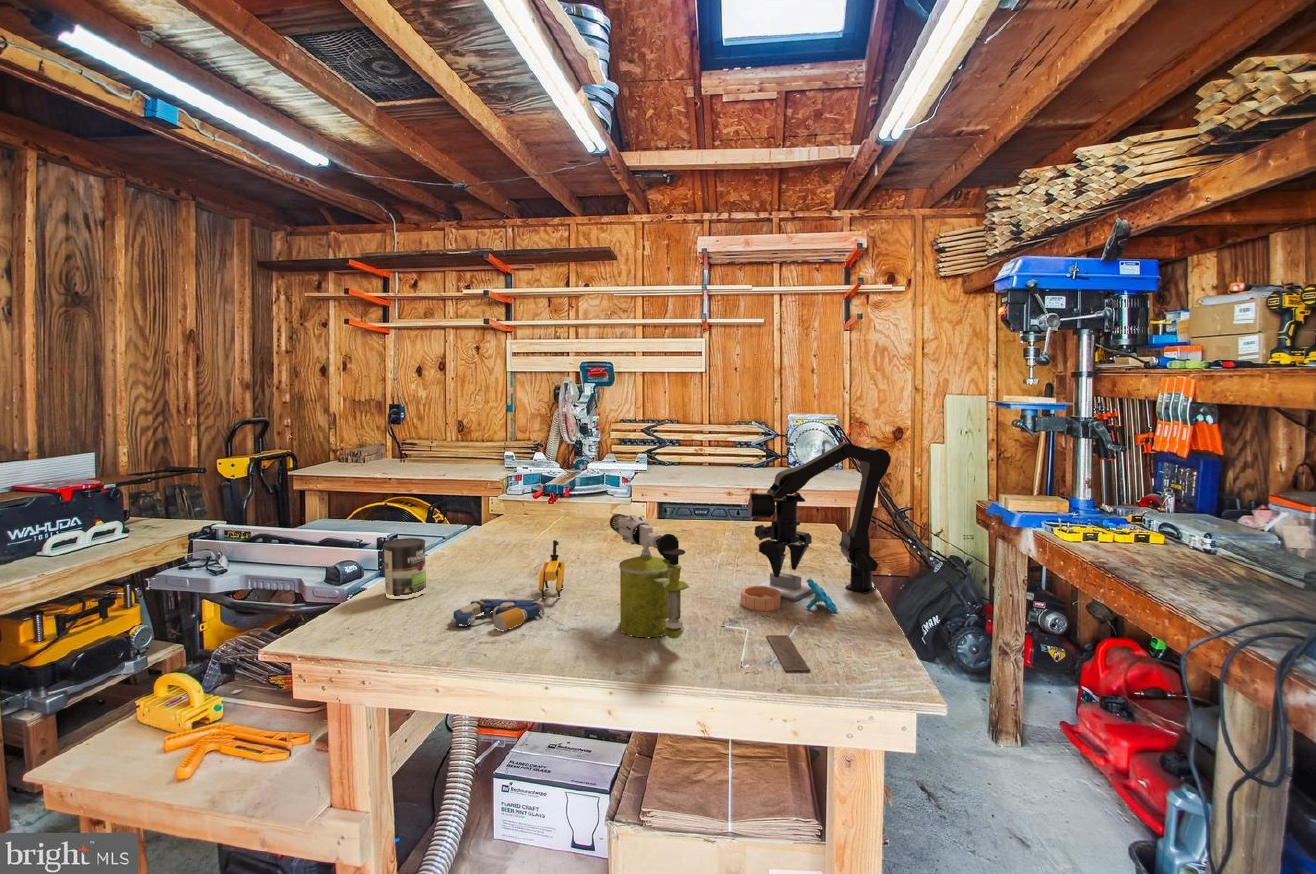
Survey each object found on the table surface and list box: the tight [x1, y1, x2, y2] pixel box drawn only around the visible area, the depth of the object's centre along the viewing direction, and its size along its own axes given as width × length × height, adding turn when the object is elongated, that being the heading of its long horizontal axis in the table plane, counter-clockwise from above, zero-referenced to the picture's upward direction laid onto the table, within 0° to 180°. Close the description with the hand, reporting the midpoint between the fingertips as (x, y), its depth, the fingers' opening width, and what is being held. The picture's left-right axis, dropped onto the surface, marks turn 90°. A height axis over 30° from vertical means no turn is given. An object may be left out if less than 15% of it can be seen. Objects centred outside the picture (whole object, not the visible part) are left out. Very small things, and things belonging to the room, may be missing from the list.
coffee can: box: [383, 537, 427, 596], centre depth 156 cm, size 10×10×14 cm
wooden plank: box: [766, 634, 811, 673], centre depth 121 cm, size 17×1×5 cm
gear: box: [805, 578, 838, 614], centre depth 146 cm, size 11×6×10 cm
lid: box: [756, 571, 812, 599], centre depth 160 cm, size 12×12×4 cm
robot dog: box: [538, 539, 566, 598], centre depth 158 cm, size 6×18×13 cm, turn 4°
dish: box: [740, 585, 782, 612], centre depth 149 cm, size 10×10×3 cm
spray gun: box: [450, 597, 545, 630], centre depth 138 cm, size 21×4×15 cm
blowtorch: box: [609, 513, 690, 640], centre depth 133 cm, size 13×33×25 cm, turn 28°
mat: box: [781, 586, 821, 603], centre depth 160 cm, size 14×14×1 cm
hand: (785, 573), depth 160 cm, fingers open, 9 cm apart
